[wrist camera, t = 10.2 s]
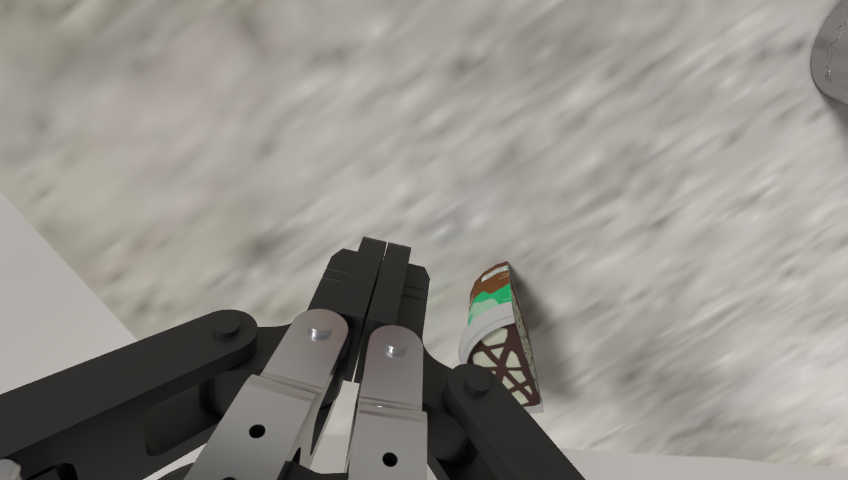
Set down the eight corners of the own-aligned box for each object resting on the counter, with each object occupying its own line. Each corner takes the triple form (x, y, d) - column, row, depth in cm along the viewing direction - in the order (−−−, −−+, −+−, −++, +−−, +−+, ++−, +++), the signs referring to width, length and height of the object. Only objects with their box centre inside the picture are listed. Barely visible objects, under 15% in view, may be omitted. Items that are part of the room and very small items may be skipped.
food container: (443, 263, 48) (439, 332, 39) (503, 249, 46) (513, 317, 38) (476, 350, 54) (479, 426, 45) (531, 339, 52) (544, 416, 44)
